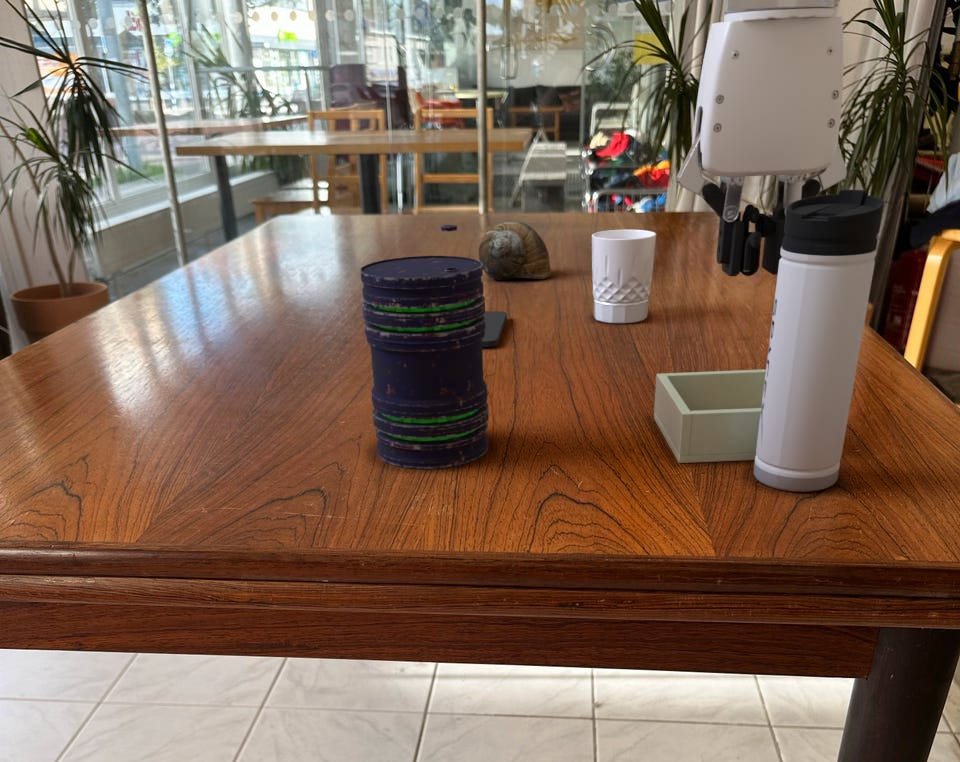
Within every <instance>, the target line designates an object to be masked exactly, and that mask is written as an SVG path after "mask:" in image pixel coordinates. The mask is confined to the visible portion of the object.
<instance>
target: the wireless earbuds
mask: <svg viewBox="0 0 960 762" xmlns="http://www.w3.org/2000/svg"><path fill="white" fill-rule="evenodd" d="M740 221H741V222H743V223H744V236H743V245H742V255H741V265H740V273H741V274H742V275H743V276H745V277H751V276H754V275H756V274H757V272H758V270H759V268H760V261H761V259H760V258H761V247H762V238H763V239H765V237H768V236H769V235H771V234H772V232H773V231H774V228H775V224H774V221H773V219H772V218H770V217H769V215H767V214H765V213H761V212H760V208H758V207H757V206H755V205H753V204H750V203H749V204H747V205H745V208H744V210H743V214H742V217H741V219H740ZM750 224H754V231H750Z"/></svg>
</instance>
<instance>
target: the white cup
mask: <svg viewBox="0 0 960 762" xmlns="http://www.w3.org/2000/svg"><path fill="white" fill-rule="evenodd" d="M656 241H657V233H656V232H655V231H651V230H645V229H609V230H608V229H607V230H601V231H596V232H594V233H592V234H591V275H592V277H591V278H592V297H593V318H594V319H595V320H596V321H599V322H602V323H608V324H632V323H633V324H634V323H638V322H642V321H645V320H646V319H647V318H648V313H649V301H650V299H649V297H650V294H651V289H652V279H653V273H654V272H653V271H654V263H655V262H654V261H655V252H656Z"/></svg>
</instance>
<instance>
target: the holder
mask: <svg viewBox="0 0 960 762" xmlns="http://www.w3.org/2000/svg"><path fill="white" fill-rule="evenodd" d="M765 373H766V368H765V369H764V368H763V369H739V370H738V369H737V370H715V371H713V370H712V371H695V372H694V371H693V372H692V371H691V372H690V371H689V372H688V371H687V372H668V373H656V375H655V390H654V391H655V392H654V407H653V419H654V421H655V423H656V425H657V426H658V428H659V430H660V432H661V434H662V435H663V437H664V439H665V441H666V443H667V444H668V446H669V448H670V450H671V452H672V453H673V455H674V457H675V459H676V460H677V463H678V464H689V463H692V464H693V463H714V462H715V463H716V462H732V461H733V462H737V461H738V462H739V461H755V456H756V447H757V439H758V431H759V422H760V414H761V406H762V398H763V390H764V382H765Z"/></svg>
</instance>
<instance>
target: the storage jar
mask: <svg viewBox="0 0 960 762" xmlns="http://www.w3.org/2000/svg"><path fill="white" fill-rule="evenodd" d="M457 230H458V225H457V224H446V225H445V224H444V225H441V226H440V231H441V232H457ZM359 271H360V281H361V283H362V284H363V286H362V288H361V291H362V292H361V293H362V301H363V302H362V304H361V305H362V307H361V308H362V315H363V316H362V317H363V321H365V322H364V326H365V330H364V335H365V336H366V342H367V343H368V345H369V346H370V356H371V357H370V358H371V366H372V377H373V378H372V379H373V386H372V388H371V390H370V391H371V397H370V399H371V400H370V401H371V403H372V410H371V411H372V421H373V422H372V423H373V426H374V429H375V436H376V438H377V440H378V441H377V445H376V450H377V455H378V457H379V458H380V459H381V460H382V461H383V462H386V463H387V464H390V465H392V466H395V467H400V468H405V469H417V470H429V469H430V470H433V469H434V470H435V469H445V468H452V467H457V466H462V465H466V464H469V463H471V462H473V461H476V460H478V459H480V458H482V457H483V456H484V455H486V453H487V452H488V450H489V439H488V437H487V432H488V429H489V428H488V421H489V416H490V415H489V403H488V396H489V392H488V385H487V383H486V381H485V380H484V357H483V347H482V339H483V338H484V336H485V328H486V325H485V318H484V314H485V311H486V298H485V296H484V283H483V281H482V277H483V274H484V270H483V265H482V262H480V261H479V259H476V258H471V257H466V256H456V255H416V256H415V255H413V256H403V257H394V258H388V259H383V260H377V261H373V262H370V263H367V264H365V265H363V266H361V267H360V269H359Z"/></svg>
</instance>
